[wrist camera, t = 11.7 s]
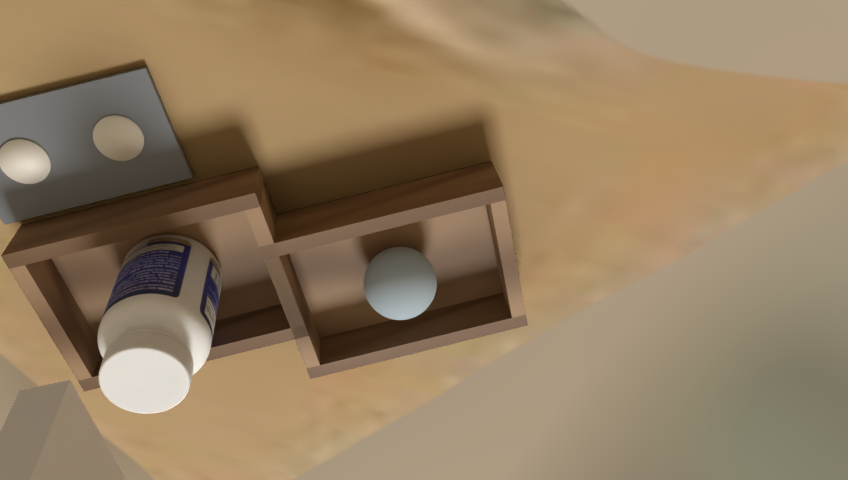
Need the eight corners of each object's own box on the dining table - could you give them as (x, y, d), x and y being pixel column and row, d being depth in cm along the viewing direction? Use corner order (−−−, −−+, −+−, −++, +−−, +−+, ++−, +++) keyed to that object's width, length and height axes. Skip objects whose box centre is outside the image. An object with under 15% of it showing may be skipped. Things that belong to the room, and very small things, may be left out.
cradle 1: (21, 225, 40) (1, 255, 37) (258, 166, 40) (255, 192, 37) (97, 356, 45) (84, 391, 42) (309, 304, 45) (309, 335, 42)
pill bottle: (104, 279, 41) (57, 390, 34) (158, 213, 40) (122, 314, 32) (188, 326, 44) (162, 440, 36) (242, 266, 42) (227, 372, 35)
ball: (353, 243, 42) (357, 283, 39) (423, 225, 42) (433, 264, 39) (371, 299, 44) (375, 342, 41) (437, 282, 44) (448, 324, 41)
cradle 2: (262, 218, 41) (258, 247, 39) (491, 161, 41) (503, 186, 39) (310, 345, 46) (310, 378, 44) (515, 295, 46) (527, 325, 44)
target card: (-57, 116, 36) (-60, 119, 36) (146, 66, 36) (145, 68, 36) (6, 221, 40) (3, 225, 39) (192, 175, 40) (191, 178, 39)
